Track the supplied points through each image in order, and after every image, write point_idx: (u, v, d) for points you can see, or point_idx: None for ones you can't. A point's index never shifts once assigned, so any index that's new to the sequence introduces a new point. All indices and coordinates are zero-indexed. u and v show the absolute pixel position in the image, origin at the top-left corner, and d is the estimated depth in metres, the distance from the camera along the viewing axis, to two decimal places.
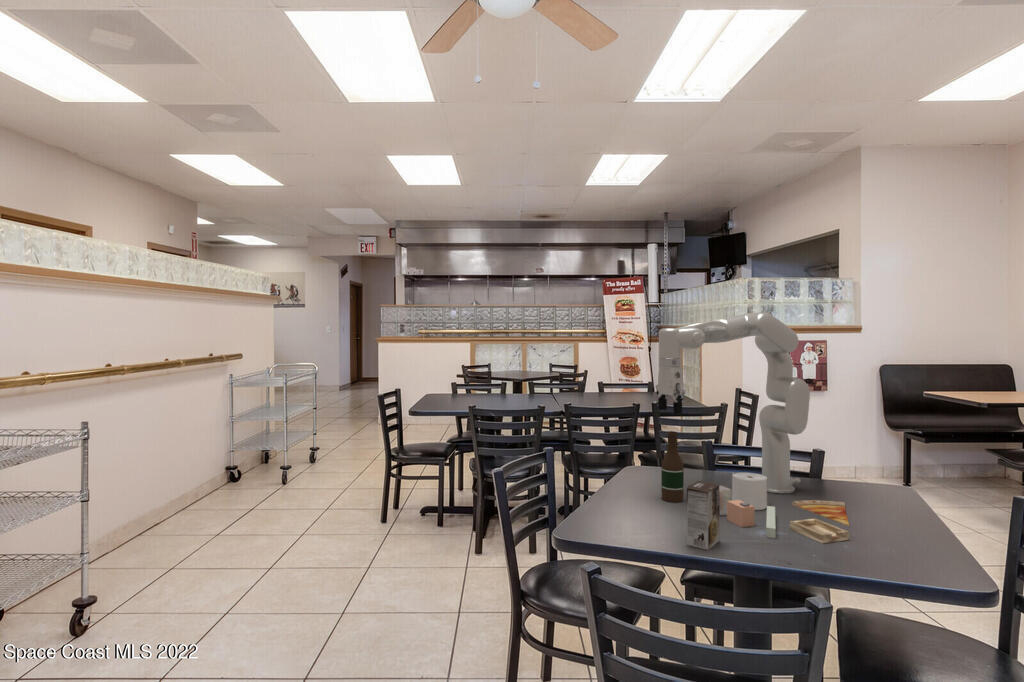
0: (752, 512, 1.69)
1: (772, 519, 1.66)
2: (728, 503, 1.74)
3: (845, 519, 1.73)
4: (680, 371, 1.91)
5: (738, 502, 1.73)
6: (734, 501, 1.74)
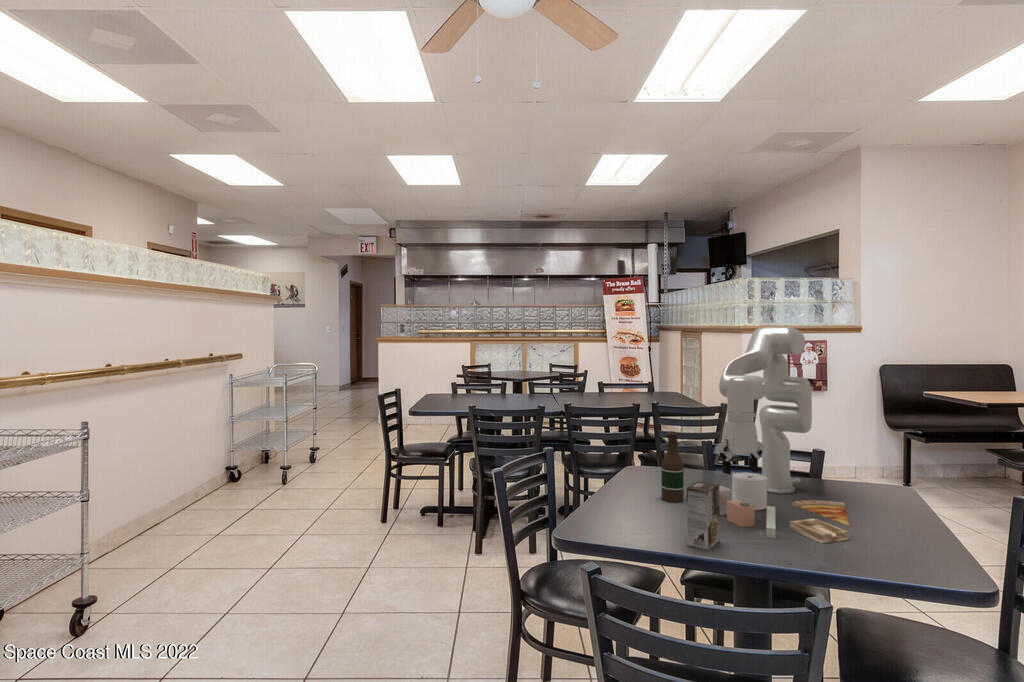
0: (752, 512, 1.69)
1: (772, 519, 1.66)
2: (728, 503, 1.74)
3: (845, 519, 1.73)
4: None
5: (738, 502, 1.73)
6: (734, 501, 1.74)
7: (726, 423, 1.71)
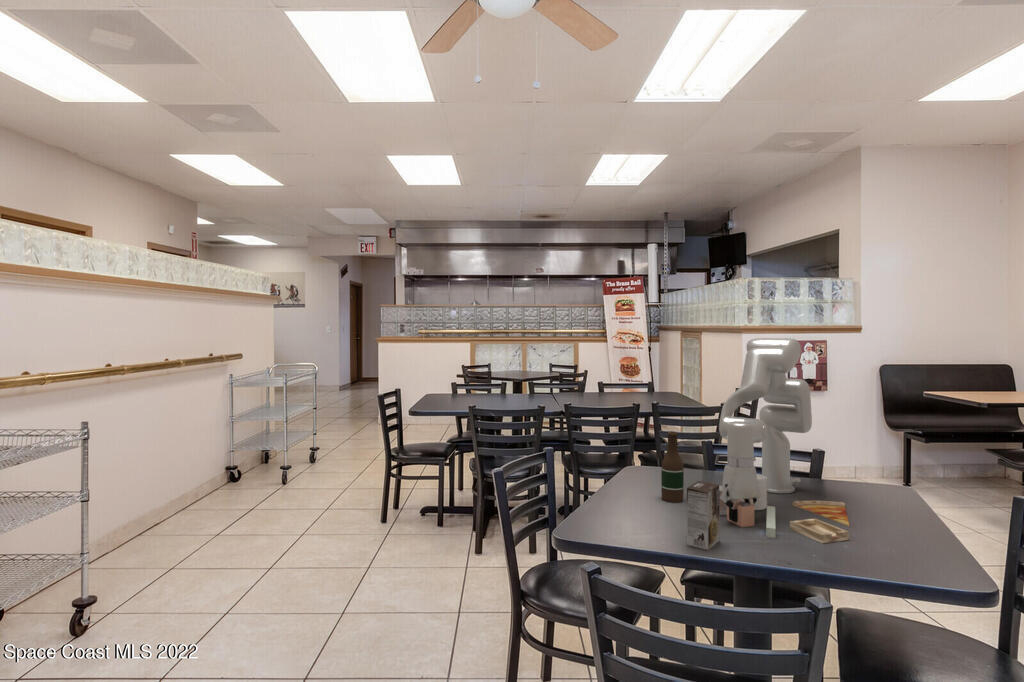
0: (752, 512, 1.69)
1: (772, 519, 1.66)
2: None
3: (846, 519, 1.73)
4: None
5: (738, 502, 1.73)
6: None
7: (726, 468, 1.71)
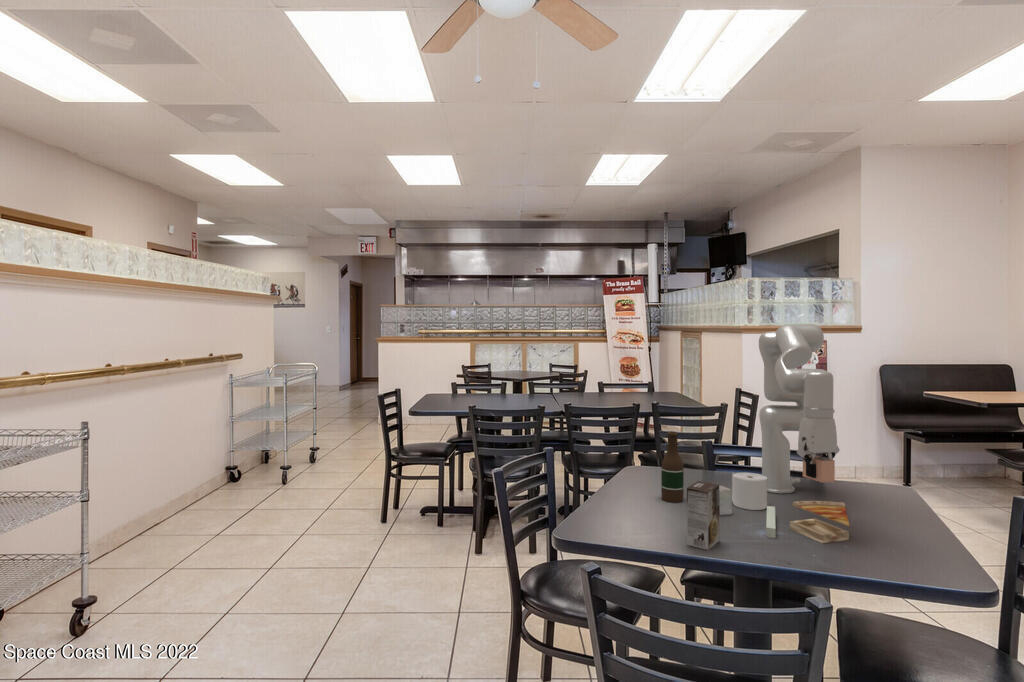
0: (832, 467, 1.58)
1: (772, 519, 1.66)
2: None
3: (846, 520, 1.72)
4: None
5: (815, 457, 1.62)
6: (810, 456, 1.64)
7: (803, 420, 1.61)
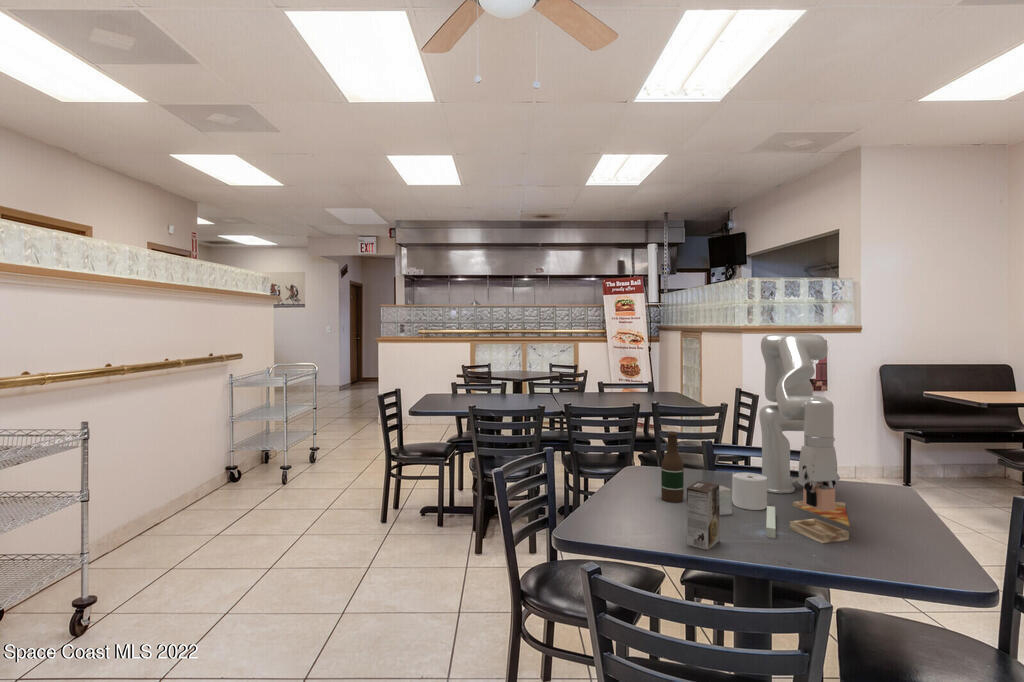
0: (833, 495, 1.58)
1: (772, 519, 1.66)
2: None
3: (846, 520, 1.72)
4: None
5: (816, 485, 1.62)
6: None
7: (804, 448, 1.61)
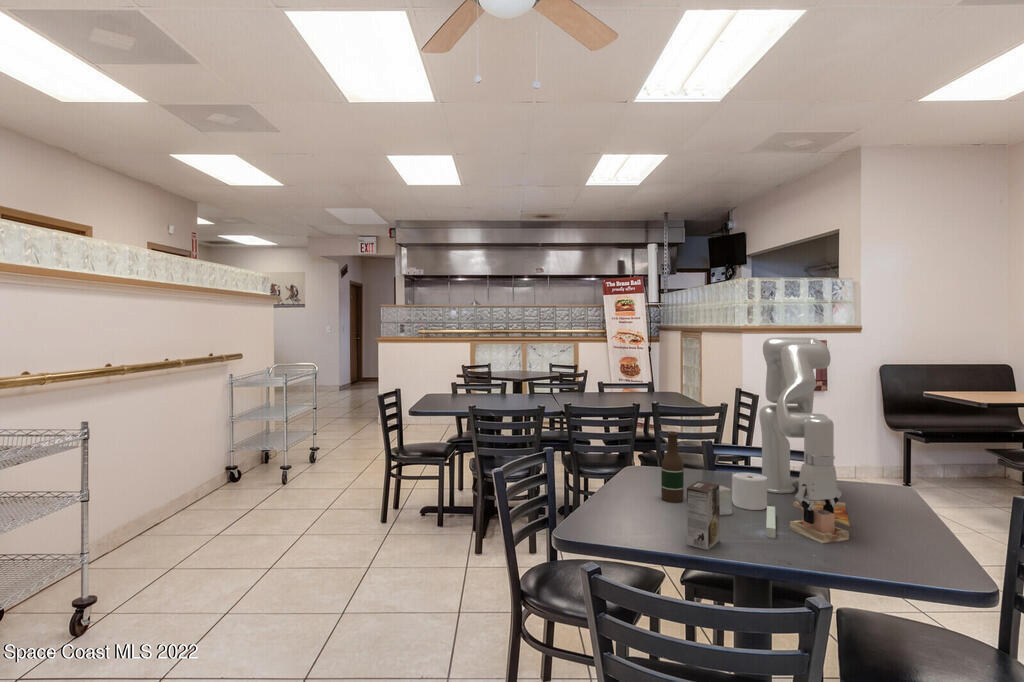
0: (832, 520, 1.59)
1: (772, 519, 1.66)
2: None
3: (846, 519, 1.72)
4: None
5: (815, 509, 1.63)
6: None
7: (804, 467, 1.61)
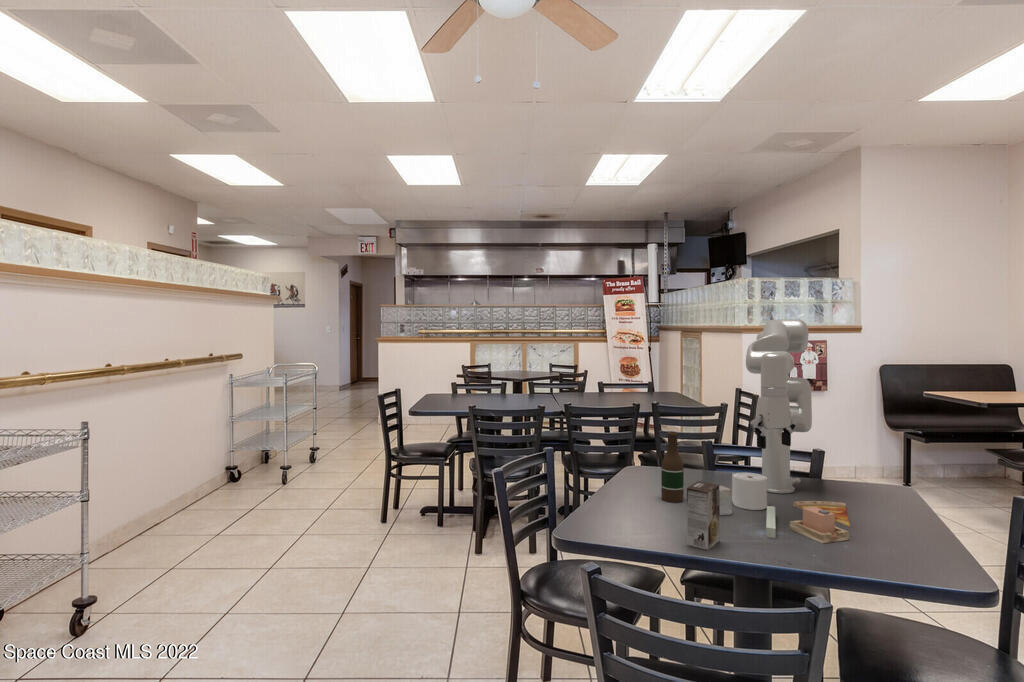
0: (832, 520, 1.59)
1: (772, 519, 1.66)
2: (804, 510, 1.64)
3: (846, 520, 1.72)
4: None
5: (815, 509, 1.63)
6: (811, 508, 1.64)
7: (760, 398, 1.73)
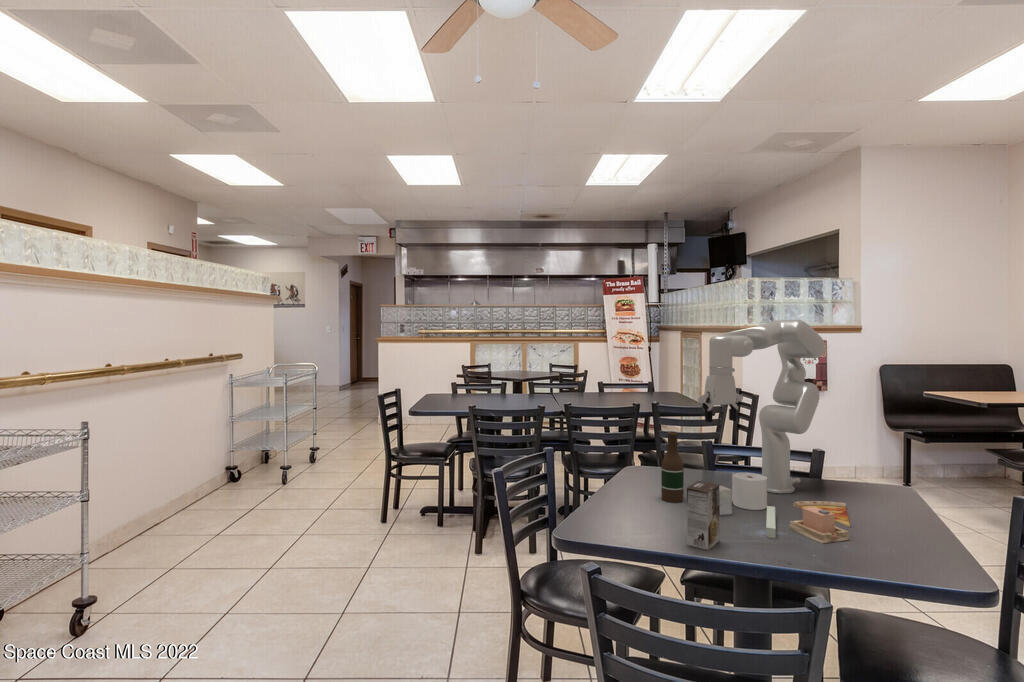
0: (832, 520, 1.59)
1: (772, 519, 1.66)
2: (804, 510, 1.64)
3: (846, 520, 1.72)
4: None
5: (815, 509, 1.63)
6: (811, 508, 1.64)
7: (708, 377, 1.91)
